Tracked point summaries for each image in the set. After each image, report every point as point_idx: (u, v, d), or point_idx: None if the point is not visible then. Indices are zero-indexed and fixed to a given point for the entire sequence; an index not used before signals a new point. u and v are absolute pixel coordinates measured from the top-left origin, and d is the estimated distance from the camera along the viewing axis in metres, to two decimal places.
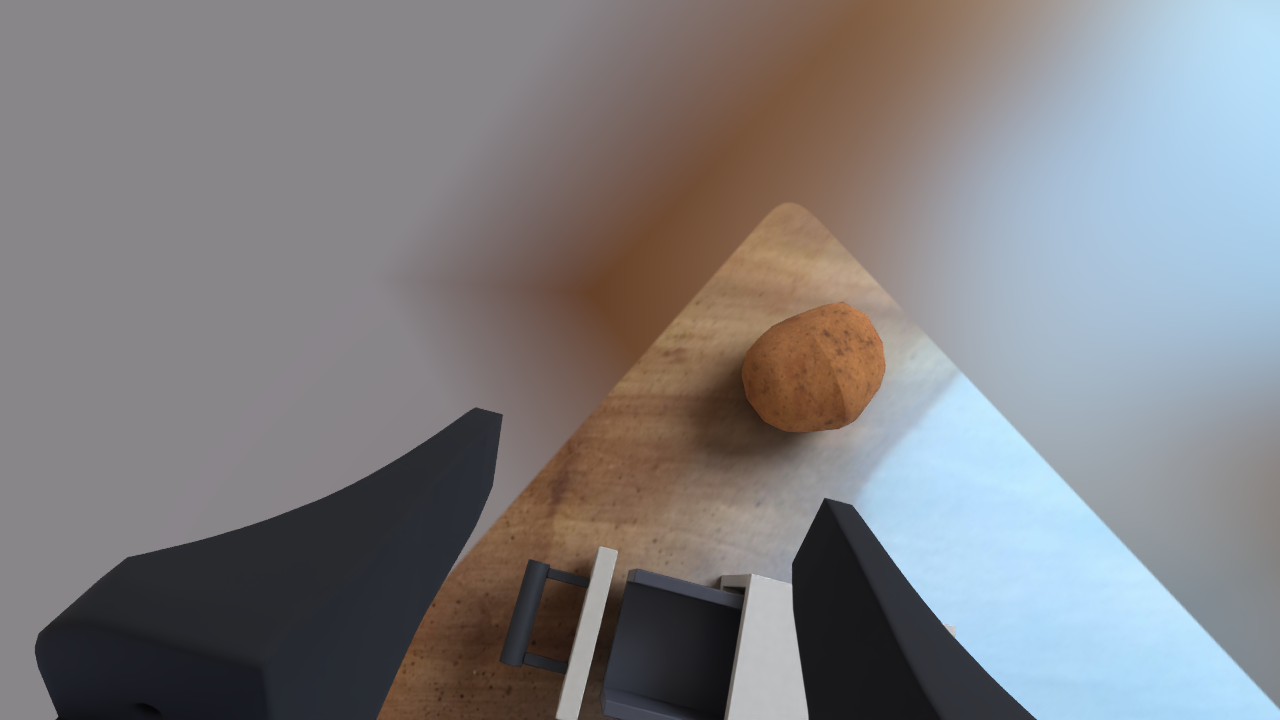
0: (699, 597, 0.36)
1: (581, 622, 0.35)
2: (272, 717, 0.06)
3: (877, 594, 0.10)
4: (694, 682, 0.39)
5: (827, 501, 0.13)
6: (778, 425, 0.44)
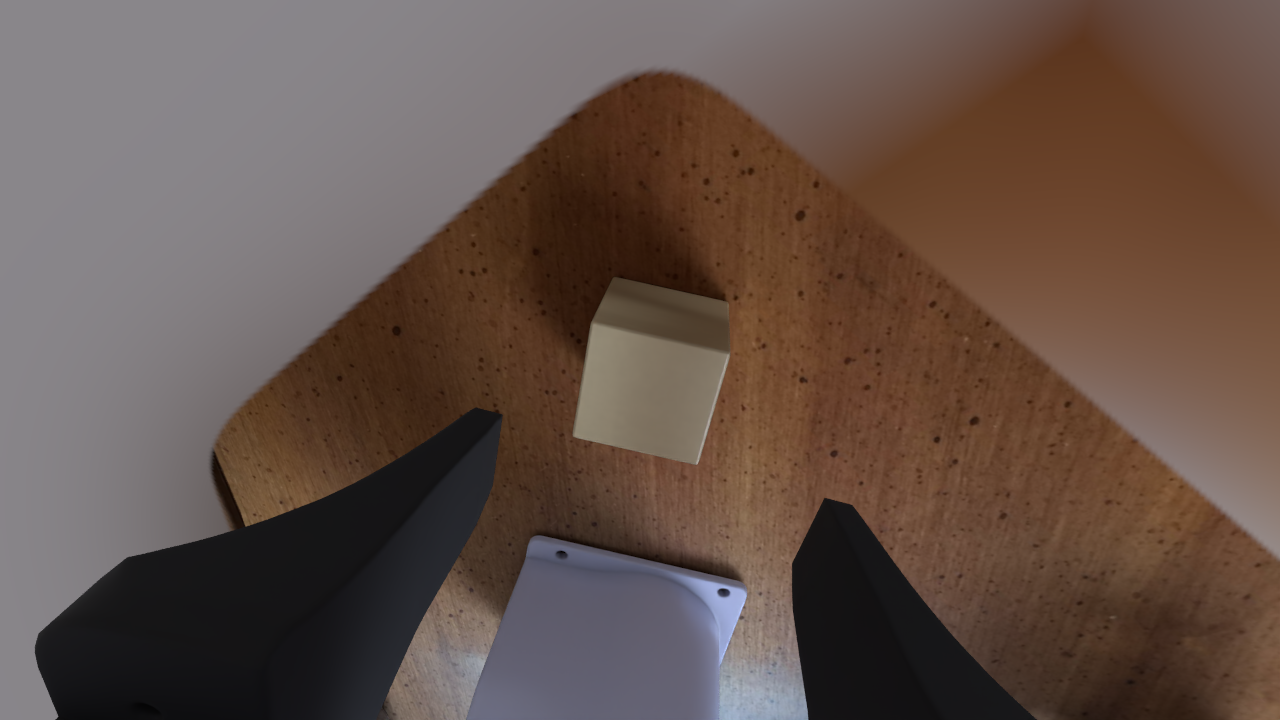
0: None
1: None
2: (272, 717, 0.06)
3: (877, 594, 0.10)
4: None
5: (827, 502, 0.13)
6: None
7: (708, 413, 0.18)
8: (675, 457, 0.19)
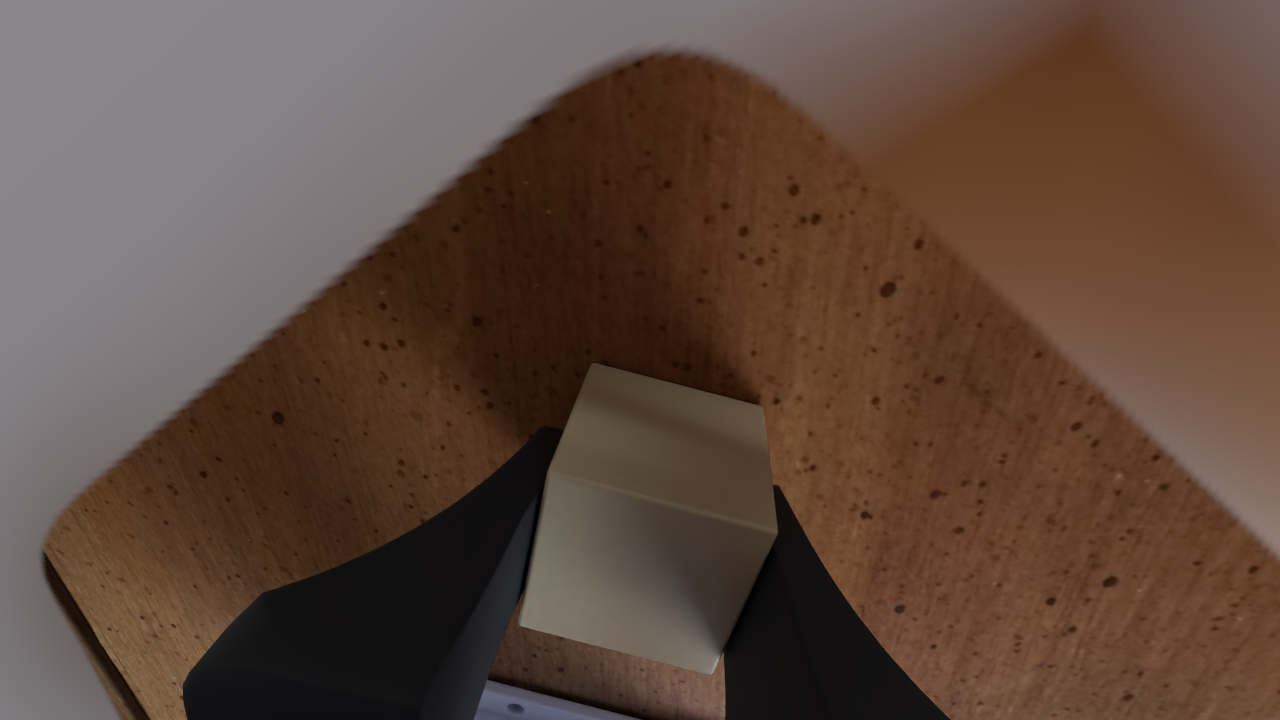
0: None
1: None
2: None
3: (783, 570, 0.10)
4: None
5: None
6: None
7: (735, 612, 0.11)
8: (678, 664, 0.12)
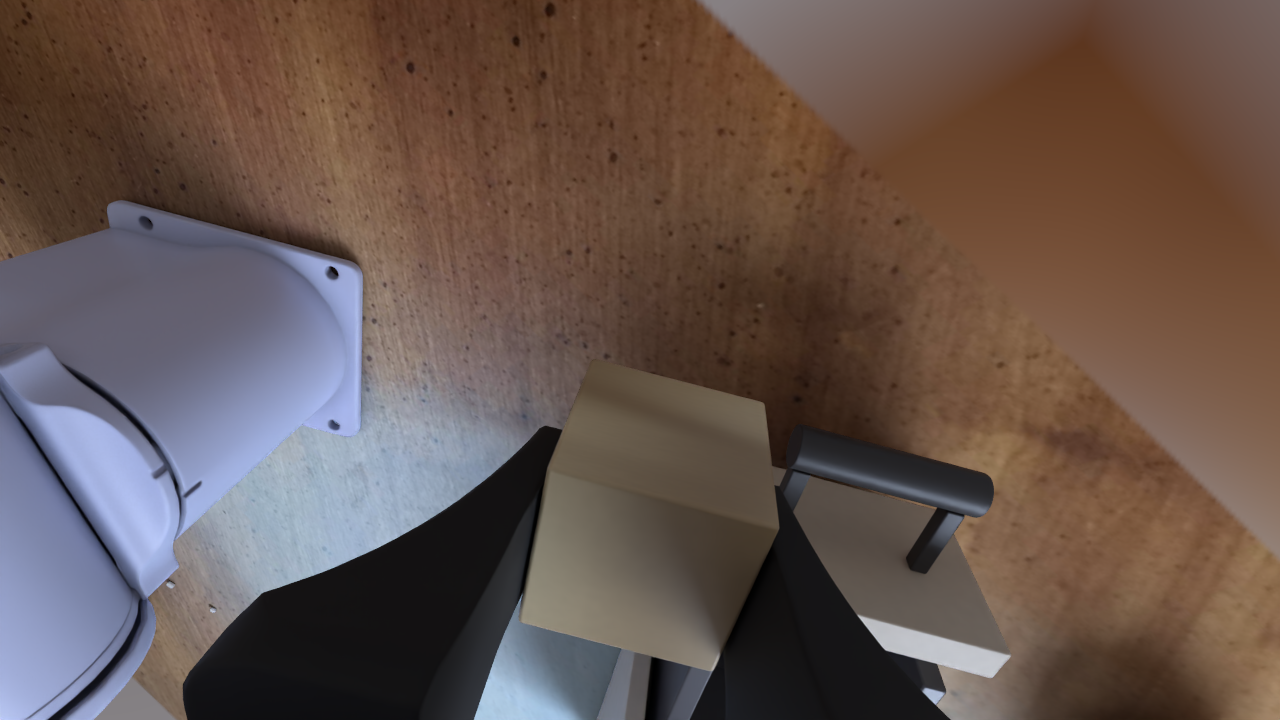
0: None
1: (870, 620, 0.18)
2: None
3: (783, 570, 0.10)
4: None
5: None
6: None
7: (736, 608, 0.11)
8: (679, 661, 0.12)
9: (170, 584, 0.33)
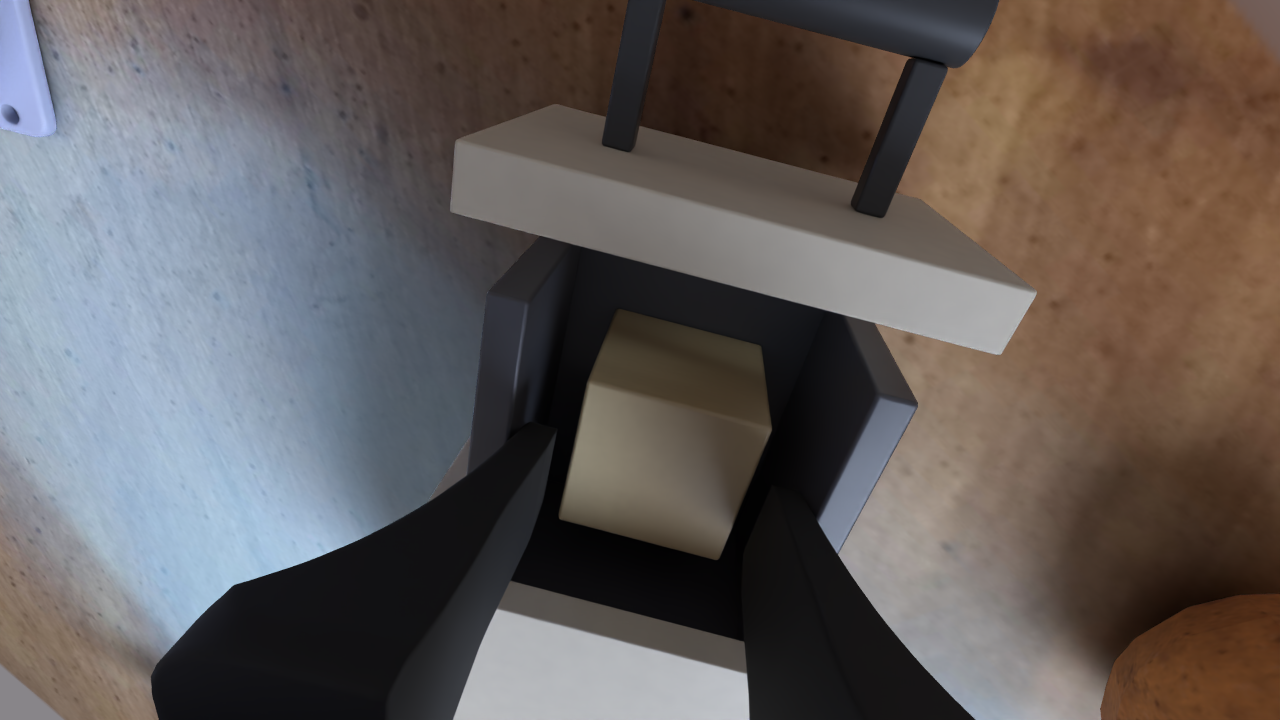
0: None
1: (766, 226, 0.09)
2: None
3: (810, 577, 0.10)
4: None
5: (774, 487, 0.13)
6: (1174, 682, 0.17)
7: (737, 501, 0.14)
8: (690, 550, 0.14)
9: None
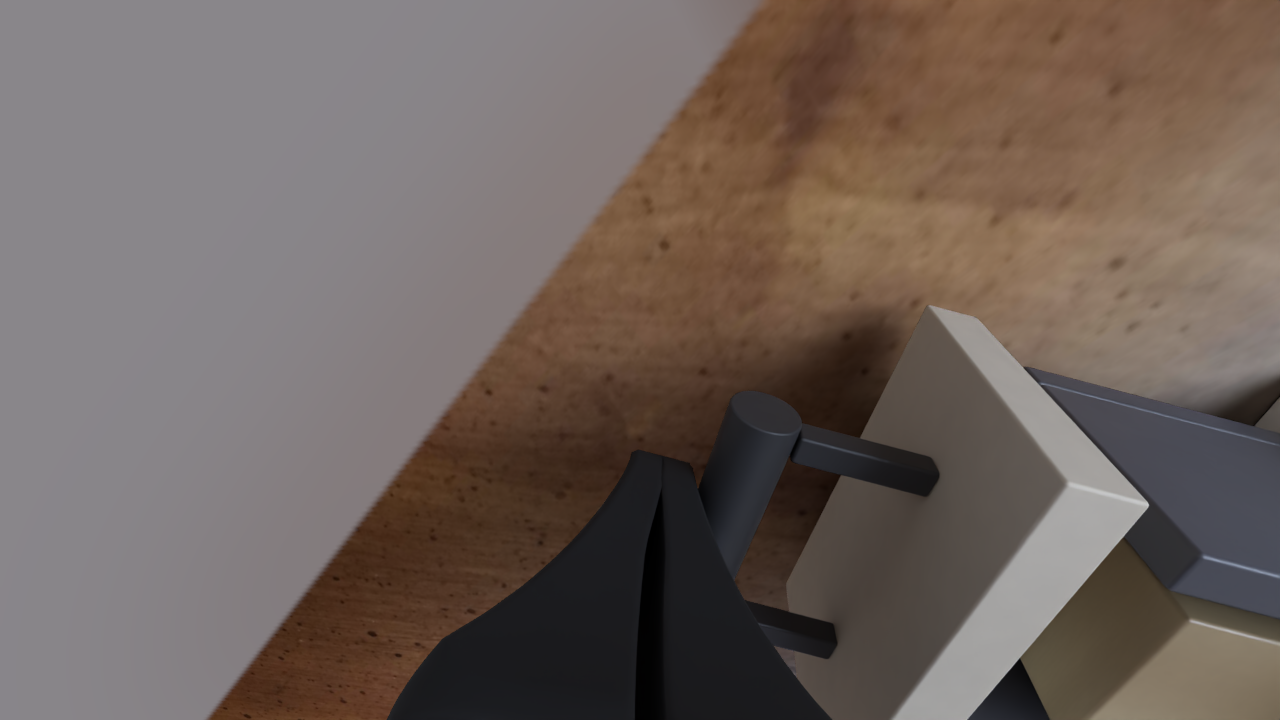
0: None
1: (927, 679, 0.10)
2: None
3: (668, 540, 0.10)
4: None
5: (662, 458, 0.13)
6: None
7: None
8: None
9: None
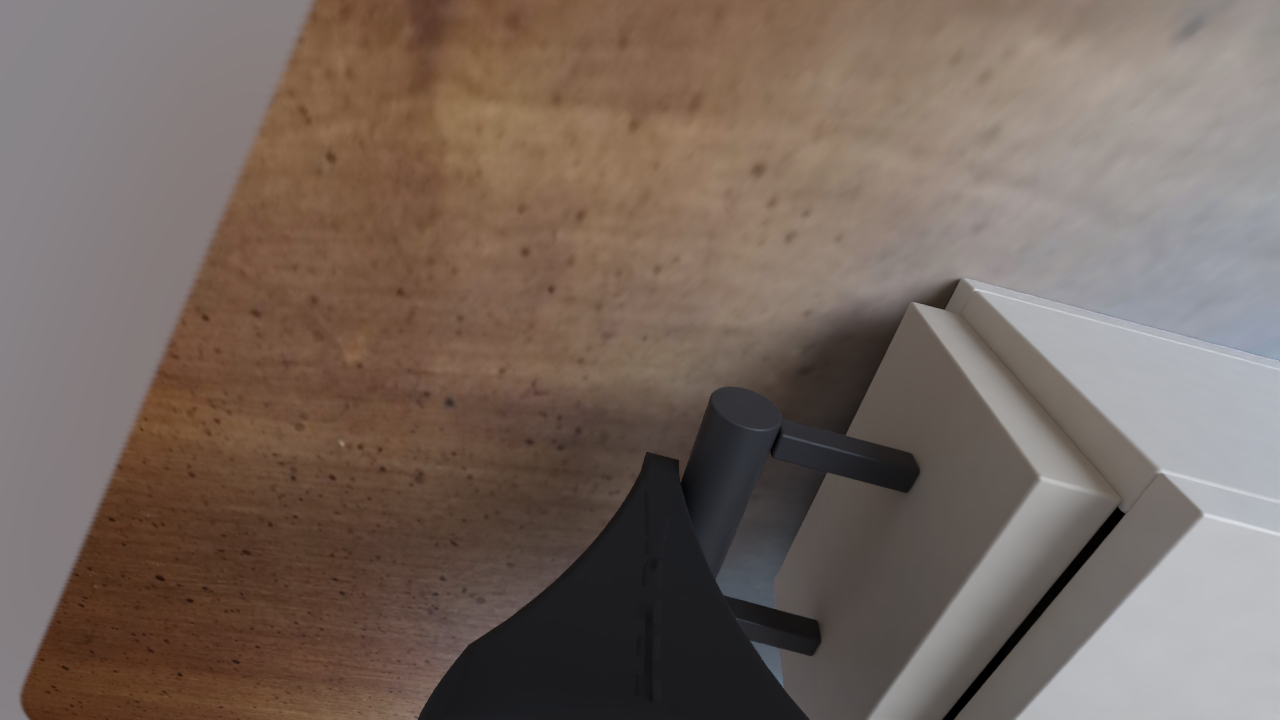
0: None
1: (905, 675, 0.10)
2: None
3: (648, 535, 0.10)
4: None
5: (646, 455, 0.13)
6: None
7: None
8: None
9: None
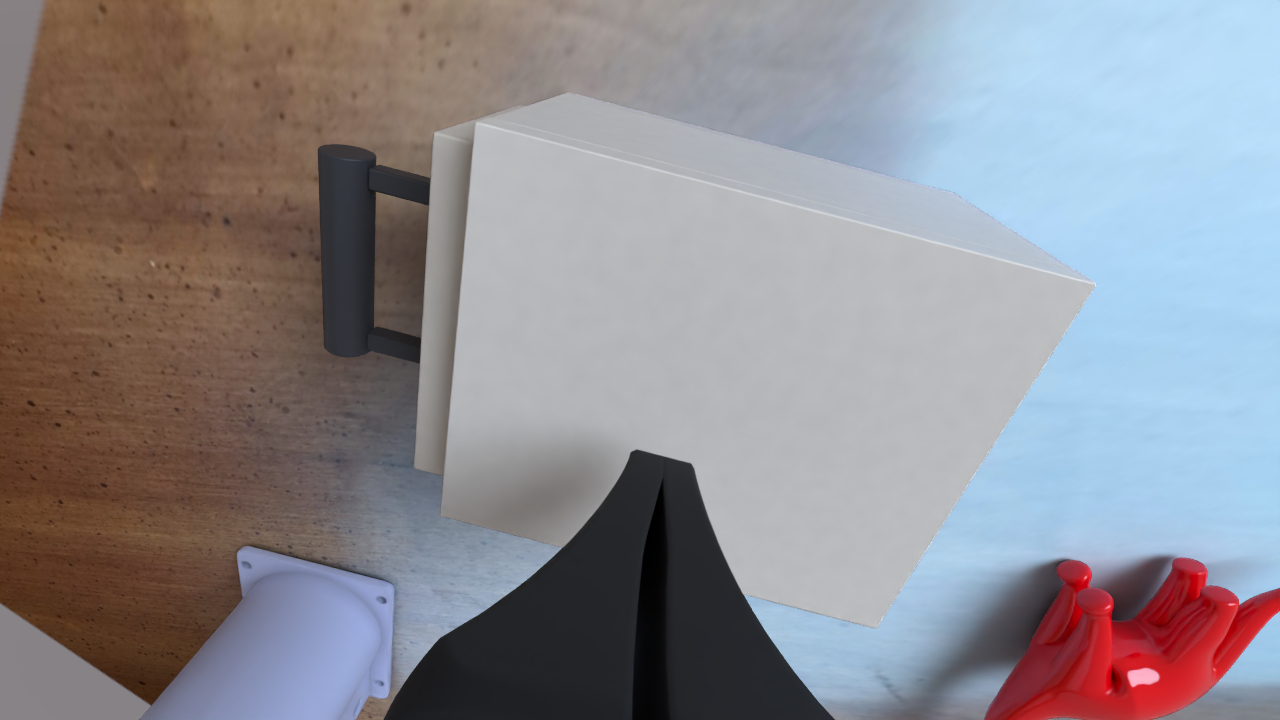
0: None
1: (425, 314, 0.15)
2: None
3: (670, 541, 0.10)
4: None
5: (664, 459, 0.13)
6: None
7: None
8: None
9: None
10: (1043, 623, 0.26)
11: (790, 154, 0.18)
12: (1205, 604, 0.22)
